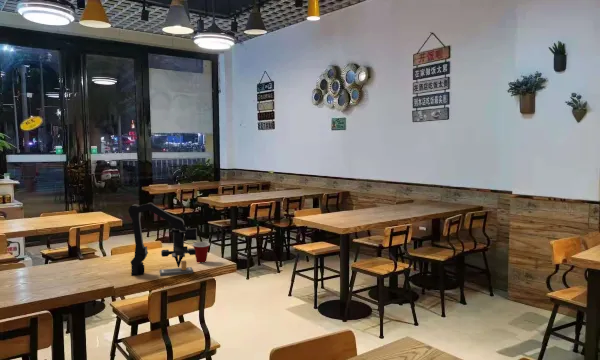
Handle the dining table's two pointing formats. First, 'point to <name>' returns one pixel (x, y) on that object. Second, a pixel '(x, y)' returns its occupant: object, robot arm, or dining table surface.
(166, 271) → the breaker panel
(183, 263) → the handle
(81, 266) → the dining table surface
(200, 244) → the plastic cup
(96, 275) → the dining table surface
